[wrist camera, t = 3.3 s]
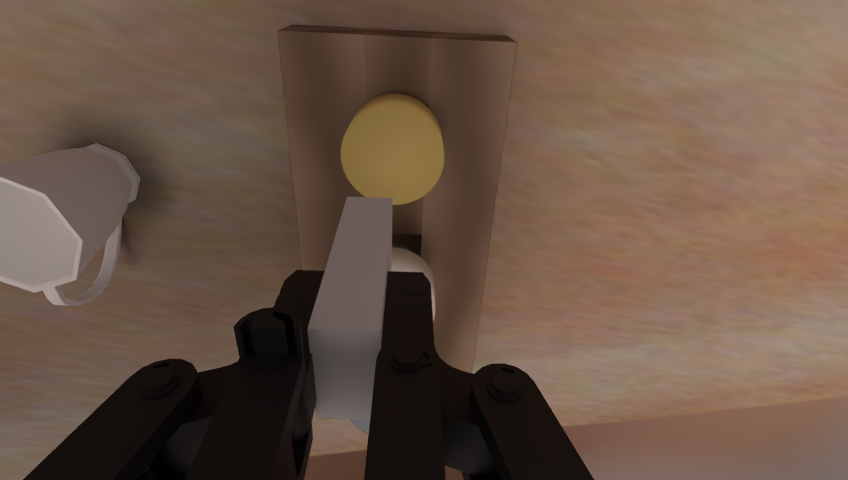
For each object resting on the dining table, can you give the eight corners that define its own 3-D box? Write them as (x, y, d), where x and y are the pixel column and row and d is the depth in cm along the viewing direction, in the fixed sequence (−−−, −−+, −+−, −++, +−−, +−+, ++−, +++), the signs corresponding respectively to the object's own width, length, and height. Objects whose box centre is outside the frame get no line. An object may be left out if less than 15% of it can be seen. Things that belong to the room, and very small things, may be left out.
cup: (149, 126, 28) (59, 176, 21) (179, 262, 33) (114, 339, 26) (31, 117, 28) (-100, 164, 21) (79, 256, 33) (-14, 332, 26)
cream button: (355, 289, 30) (344, 344, 26) (353, 222, 28) (340, 270, 23) (431, 292, 30) (432, 347, 26) (435, 226, 28) (438, 273, 23)
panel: (322, 366, 38) (314, 394, 36) (292, 24, 25) (277, 30, 23) (464, 370, 39) (468, 399, 36) (507, 35, 26) (517, 42, 23)
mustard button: (355, 166, 28) (342, 203, 23) (353, 80, 25) (338, 103, 21) (437, 169, 28) (440, 206, 23) (443, 85, 25) (448, 108, 21)
